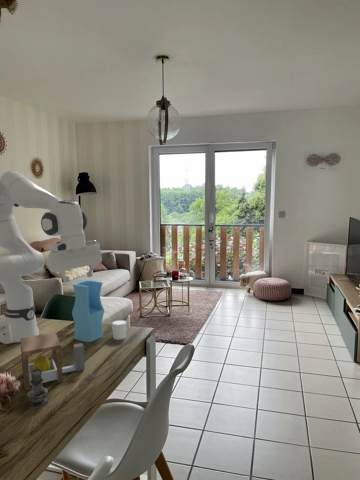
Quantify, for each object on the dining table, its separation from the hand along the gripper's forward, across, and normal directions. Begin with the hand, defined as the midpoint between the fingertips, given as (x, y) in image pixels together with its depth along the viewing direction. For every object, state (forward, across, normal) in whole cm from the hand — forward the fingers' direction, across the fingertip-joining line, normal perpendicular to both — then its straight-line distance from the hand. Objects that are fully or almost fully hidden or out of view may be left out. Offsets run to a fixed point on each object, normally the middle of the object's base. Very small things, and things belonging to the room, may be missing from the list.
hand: (78, 279), depth 139 cm
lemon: (+31, +19, +2) cm, 37 cm away
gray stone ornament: (+32, +25, +18) cm, 45 cm away
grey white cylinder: (+33, -21, -13) cm, 41 cm away
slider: (+31, +14, +3) cm, 34 cm away
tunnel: (+31, +19, +2) cm, 36 cm away
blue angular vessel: (+32, -10, -22) cm, 40 cm away
